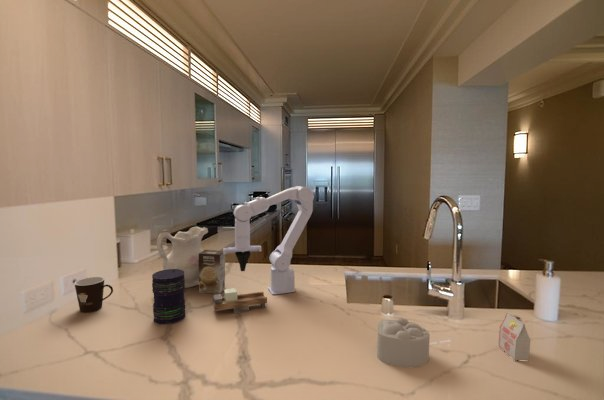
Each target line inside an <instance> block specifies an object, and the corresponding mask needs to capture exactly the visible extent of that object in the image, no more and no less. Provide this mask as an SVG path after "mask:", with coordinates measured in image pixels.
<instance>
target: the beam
mask: <svg viewBox="0 0 604 400" xmlns="http://www.w3.org/2000/svg"><path fill="white" fill-rule="evenodd" d="M212 304H213V305H212V306H213V309H214V311H221V310H228V309H229V310H230V309H232V311H233V313H234V314H238V313H244V312H249V311H250V306H256V305H257V306H258V305H260V307H261V309H265V308H266V304H268V296H265V293H264V291H257V292H250V293H249V292H248V293H242V294H241V293H240V294H237V301H232V302H225V300H224V296H222V294H221V293H220V294H213V297H212Z"/></svg>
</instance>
